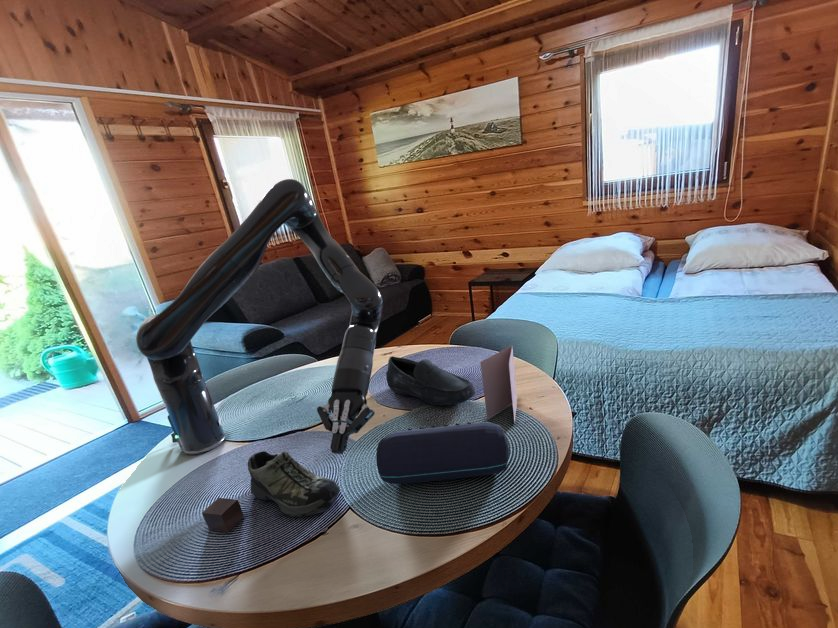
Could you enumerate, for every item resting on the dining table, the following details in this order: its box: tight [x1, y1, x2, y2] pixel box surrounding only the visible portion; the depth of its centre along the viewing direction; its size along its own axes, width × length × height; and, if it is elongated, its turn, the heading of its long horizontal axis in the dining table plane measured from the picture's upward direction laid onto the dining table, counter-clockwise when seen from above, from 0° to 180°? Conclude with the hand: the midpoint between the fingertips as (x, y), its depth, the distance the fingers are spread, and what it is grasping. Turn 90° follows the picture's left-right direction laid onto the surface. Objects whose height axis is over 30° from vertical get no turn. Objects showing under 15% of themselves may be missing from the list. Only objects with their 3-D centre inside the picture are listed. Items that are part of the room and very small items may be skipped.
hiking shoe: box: [247, 450, 341, 518], centre depth 82 cm, size 8×21×9 cm, turn 65°
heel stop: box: [201, 497, 245, 533], centre depth 78 cm, size 4×4×4 cm
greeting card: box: [479, 345, 518, 425], centre depth 101 cm, size 11×7×15 cm, turn 136°
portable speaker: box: [375, 421, 510, 485], centre depth 83 cm, size 25×10×10 cm, turn 90°
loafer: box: [385, 355, 476, 406], centre depth 116 cm, size 10×29×10 cm, turn 58°
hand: (337, 453), depth 87 cm, fingers closed
